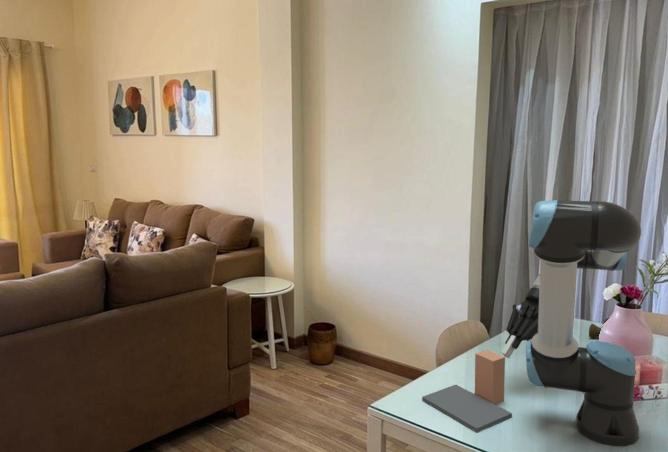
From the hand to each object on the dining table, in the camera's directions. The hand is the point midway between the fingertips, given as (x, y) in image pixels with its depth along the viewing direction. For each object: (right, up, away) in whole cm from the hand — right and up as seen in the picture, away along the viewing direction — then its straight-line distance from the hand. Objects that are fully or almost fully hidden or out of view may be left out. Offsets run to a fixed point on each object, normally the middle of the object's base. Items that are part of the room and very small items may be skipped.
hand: (505, 355), depth 167 cm
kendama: (+53, -4, +45) cm, 69 cm away
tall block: (-5, -13, -1) cm, 14 cm away
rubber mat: (-14, -14, -7) cm, 21 cm away
